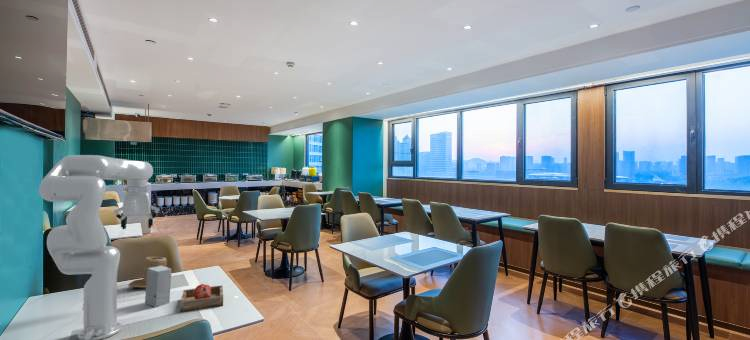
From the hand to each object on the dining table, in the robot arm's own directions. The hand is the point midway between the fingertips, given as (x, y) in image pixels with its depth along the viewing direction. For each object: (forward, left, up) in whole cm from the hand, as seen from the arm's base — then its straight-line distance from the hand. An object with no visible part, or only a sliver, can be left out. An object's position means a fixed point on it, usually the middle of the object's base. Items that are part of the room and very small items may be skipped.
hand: (137, 228), depth 155 cm
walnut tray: (-13, -27, -33) cm, 45 cm away
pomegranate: (-13, -27, -32) cm, 44 cm away
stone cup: (+22, -2, -34) cm, 40 cm away
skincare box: (-6, -9, -34) cm, 35 cm away
